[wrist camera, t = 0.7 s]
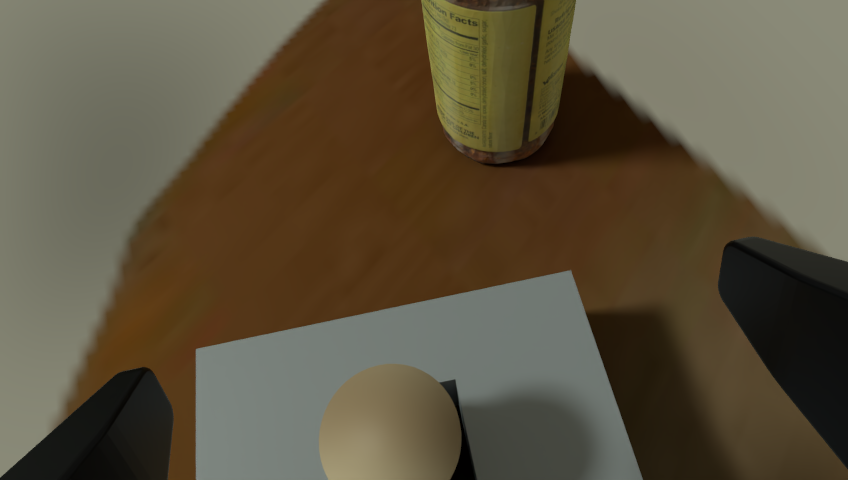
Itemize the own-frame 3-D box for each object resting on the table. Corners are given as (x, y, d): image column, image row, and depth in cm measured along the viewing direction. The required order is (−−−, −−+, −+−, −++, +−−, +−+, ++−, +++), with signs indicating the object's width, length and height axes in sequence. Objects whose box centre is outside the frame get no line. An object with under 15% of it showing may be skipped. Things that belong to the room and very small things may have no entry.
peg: (475, 501, 18) (475, 497, 13) (366, 525, 18) (327, 529, 13) (451, 391, 20) (444, 351, 15) (352, 413, 19) (312, 379, 15)
